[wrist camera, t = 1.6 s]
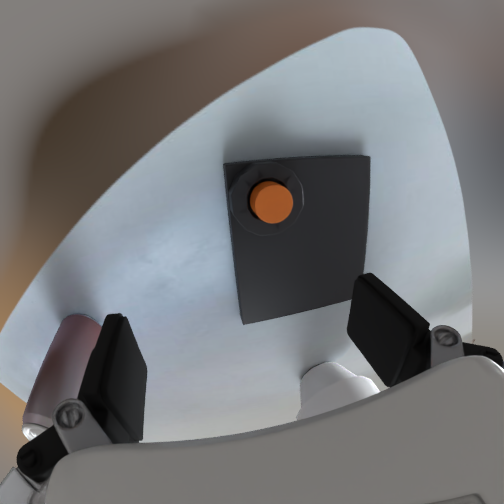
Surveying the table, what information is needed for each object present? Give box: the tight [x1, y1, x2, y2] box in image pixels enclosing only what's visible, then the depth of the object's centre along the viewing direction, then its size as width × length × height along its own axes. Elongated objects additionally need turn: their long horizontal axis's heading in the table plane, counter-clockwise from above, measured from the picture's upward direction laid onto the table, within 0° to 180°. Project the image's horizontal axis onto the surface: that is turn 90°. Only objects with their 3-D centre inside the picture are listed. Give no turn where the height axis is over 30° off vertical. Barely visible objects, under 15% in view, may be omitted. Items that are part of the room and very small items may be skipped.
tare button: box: [250, 181, 293, 223], centre depth 21 cm, size 3×3×2 cm
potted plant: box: [296, 362, 380, 421], centre depth 25 cm, size 13×12×25 cm
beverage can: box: [22, 314, 102, 441], centre depth 19 cm, size 6×6×15 cm
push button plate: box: [223, 155, 370, 325], centre depth 25 cm, size 16×14×3 cm
